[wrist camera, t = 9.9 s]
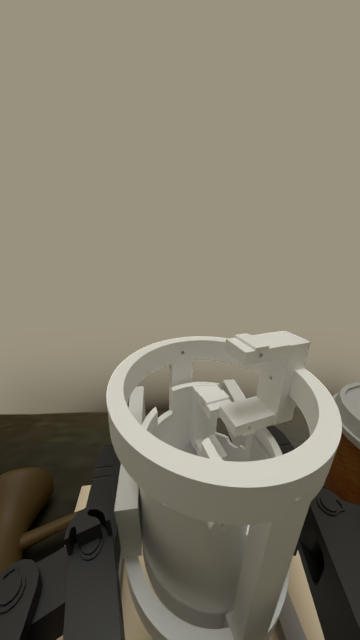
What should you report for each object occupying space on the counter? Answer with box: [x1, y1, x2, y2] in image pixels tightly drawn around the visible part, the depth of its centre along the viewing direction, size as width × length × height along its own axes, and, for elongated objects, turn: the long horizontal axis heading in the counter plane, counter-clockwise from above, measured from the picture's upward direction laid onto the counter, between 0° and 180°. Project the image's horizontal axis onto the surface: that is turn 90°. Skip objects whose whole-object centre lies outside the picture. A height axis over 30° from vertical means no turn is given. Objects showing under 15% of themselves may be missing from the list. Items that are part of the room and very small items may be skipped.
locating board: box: [57, 485, 325, 640], centre depth 13 cm, size 20×20×3 cm
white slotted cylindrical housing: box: [106, 331, 342, 640], centre depth 9 cm, size 7×7×15 cm
